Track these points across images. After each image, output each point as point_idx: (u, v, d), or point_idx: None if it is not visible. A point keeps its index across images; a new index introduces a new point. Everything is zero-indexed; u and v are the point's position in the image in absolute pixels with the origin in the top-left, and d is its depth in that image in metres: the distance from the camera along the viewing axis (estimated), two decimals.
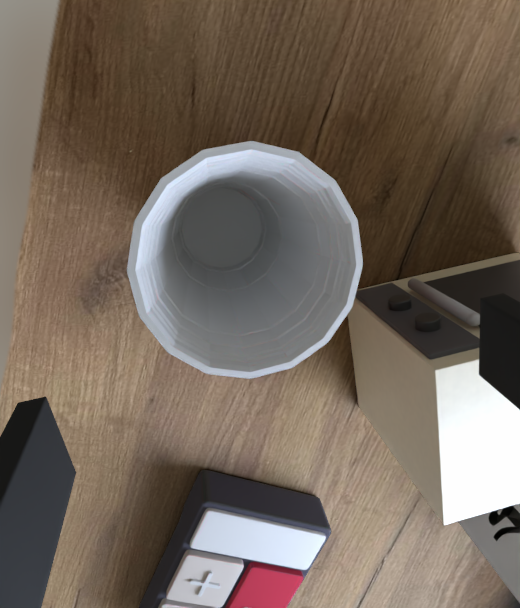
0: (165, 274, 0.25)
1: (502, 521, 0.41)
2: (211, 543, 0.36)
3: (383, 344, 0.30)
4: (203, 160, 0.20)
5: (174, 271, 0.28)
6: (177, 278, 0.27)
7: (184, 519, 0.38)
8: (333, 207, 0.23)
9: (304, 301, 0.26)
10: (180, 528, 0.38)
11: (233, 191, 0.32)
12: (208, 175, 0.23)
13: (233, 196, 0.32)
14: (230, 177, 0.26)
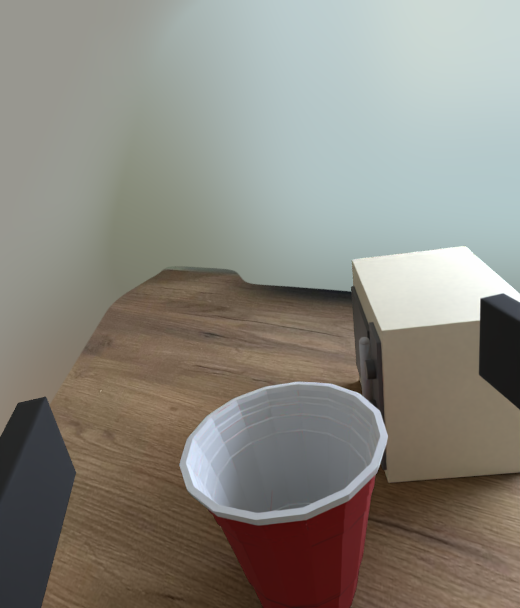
0: None
1: None
2: None
3: (405, 409, 0.34)
4: (187, 465, 0.25)
5: (316, 582, 0.24)
6: None
7: None
8: (255, 403, 0.30)
9: (340, 437, 0.29)
10: None
11: None
12: (213, 498, 0.26)
13: None
14: None
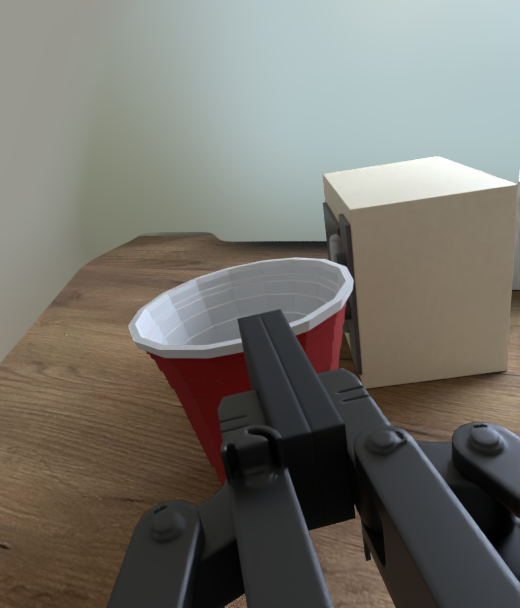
0: None
1: None
2: None
3: (378, 301, 0.32)
4: (136, 325, 0.23)
5: None
6: None
7: None
8: (215, 284, 0.28)
9: (307, 312, 0.27)
10: None
11: None
12: None
13: None
14: None
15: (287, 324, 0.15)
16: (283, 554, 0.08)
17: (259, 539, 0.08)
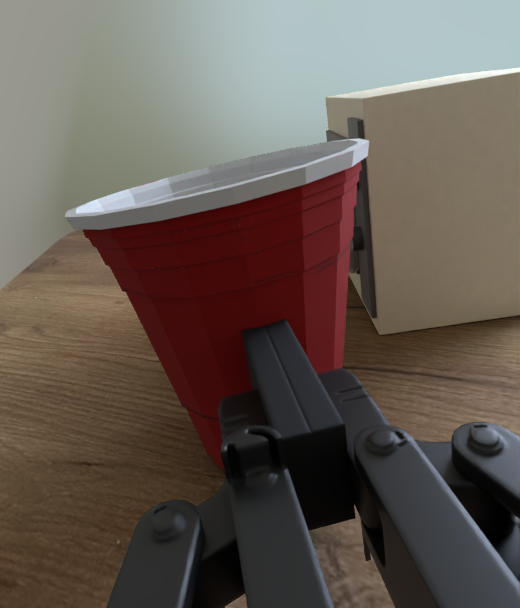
0: None
1: None
2: None
3: (398, 221, 0.26)
4: (77, 210, 0.17)
5: None
6: None
7: None
8: (193, 185, 0.22)
9: None
10: None
11: None
12: None
13: None
14: None
15: (287, 324, 0.15)
16: (283, 554, 0.08)
17: (260, 540, 0.08)
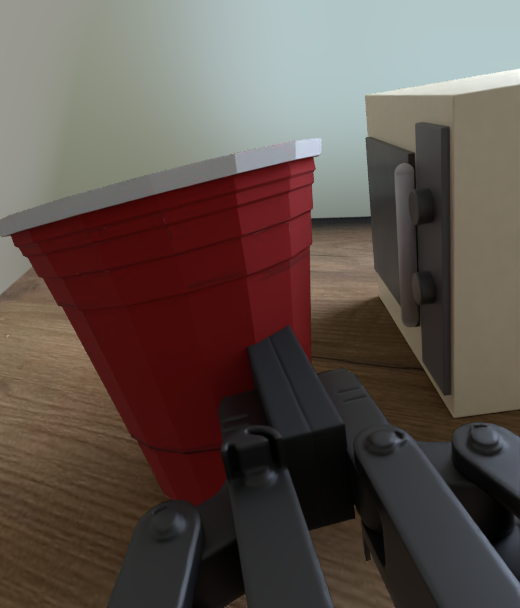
0: None
1: None
2: None
3: (491, 269, 0.18)
4: None
5: (218, 393, 0.15)
6: None
7: None
8: None
9: None
10: None
11: None
12: None
13: None
14: None
15: None
16: (283, 554, 0.08)
17: (259, 539, 0.08)
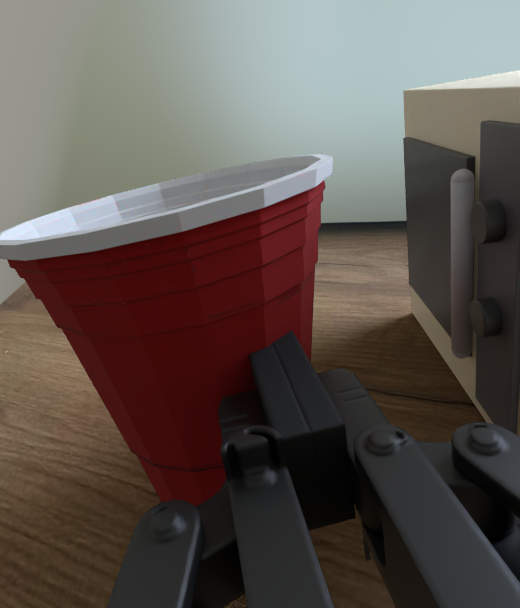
0: None
1: None
2: None
3: None
4: (3, 234, 0.15)
5: None
6: None
7: None
8: (142, 203, 0.20)
9: None
10: None
11: None
12: None
13: None
14: None
15: None
16: (283, 554, 0.08)
17: (259, 540, 0.08)
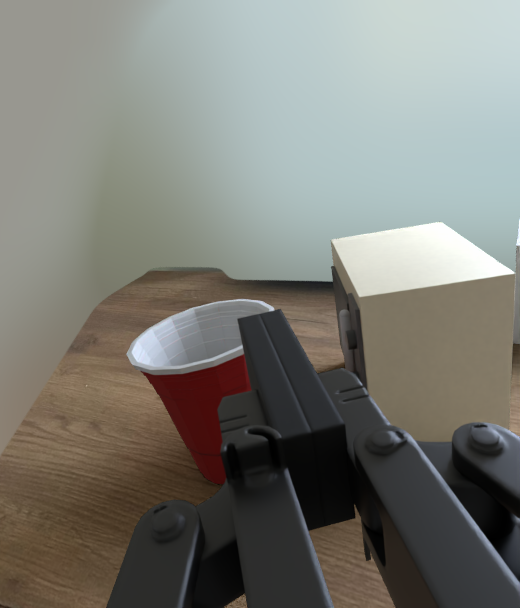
0: None
1: None
2: None
3: (387, 376, 0.34)
4: (132, 353, 0.34)
5: None
6: None
7: None
8: (185, 320, 0.39)
9: None
10: None
11: None
12: None
13: None
14: None
15: (287, 324, 0.15)
16: (283, 554, 0.08)
17: (259, 540, 0.08)
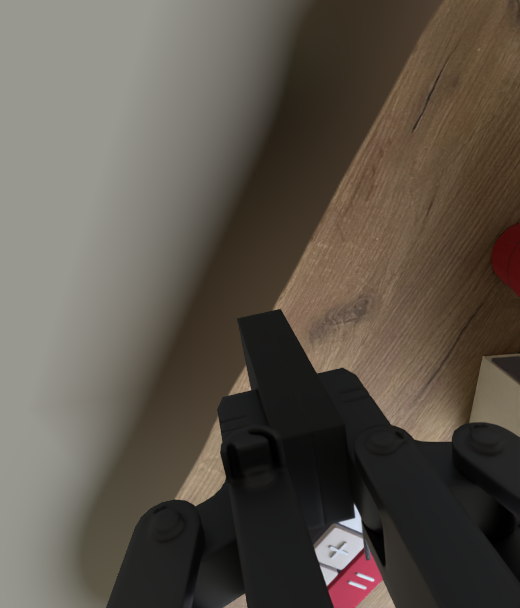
0: None
1: None
2: (353, 521, 0.49)
3: None
4: None
5: None
6: None
7: None
8: None
9: None
10: None
11: None
12: None
13: None
14: None
15: (287, 324, 0.15)
16: (283, 554, 0.08)
17: (259, 540, 0.08)
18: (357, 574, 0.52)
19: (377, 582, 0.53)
